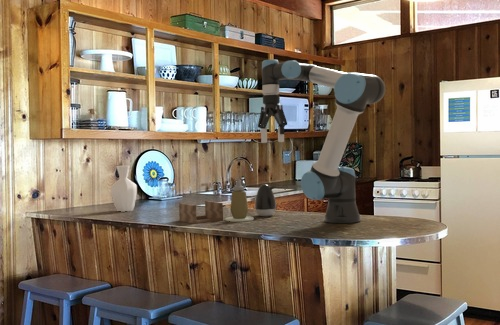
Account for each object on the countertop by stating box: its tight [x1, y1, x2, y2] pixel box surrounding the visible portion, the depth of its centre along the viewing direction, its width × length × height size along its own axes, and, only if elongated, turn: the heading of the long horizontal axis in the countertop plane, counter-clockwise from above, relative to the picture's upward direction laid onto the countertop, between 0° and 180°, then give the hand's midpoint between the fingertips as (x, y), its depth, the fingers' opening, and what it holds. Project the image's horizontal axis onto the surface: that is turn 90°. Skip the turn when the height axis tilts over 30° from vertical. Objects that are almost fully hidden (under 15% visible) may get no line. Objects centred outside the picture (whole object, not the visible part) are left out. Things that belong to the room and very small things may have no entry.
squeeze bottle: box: [230, 178, 249, 219], centre depth 253 cm, size 8×8×18 cm
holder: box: [178, 200, 224, 225], centre depth 255 cm, size 15×15×8 cm
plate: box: [225, 215, 255, 223], centre depth 253 cm, size 13×13×1 cm
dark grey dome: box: [254, 183, 277, 217], centre depth 265 cm, size 10×10×15 cm
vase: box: [110, 165, 138, 213], centre depth 306 cm, size 14×14×25 cm
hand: (272, 142), depth 249 cm, fingers open, 13 cm apart
